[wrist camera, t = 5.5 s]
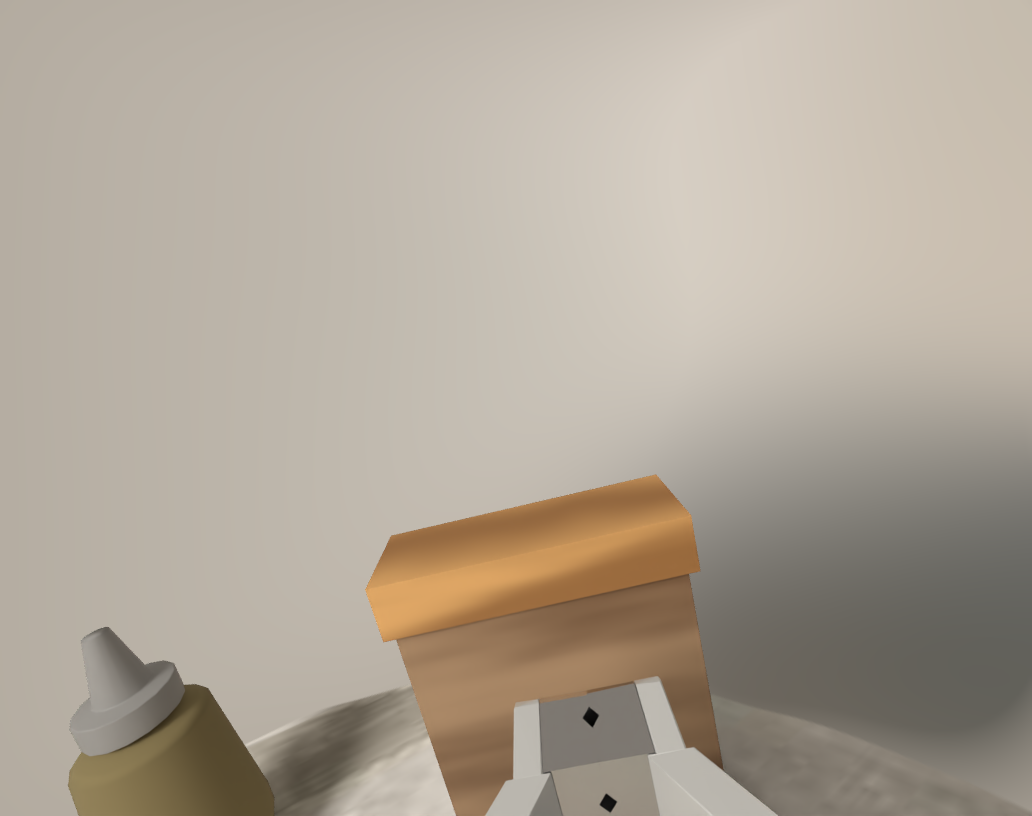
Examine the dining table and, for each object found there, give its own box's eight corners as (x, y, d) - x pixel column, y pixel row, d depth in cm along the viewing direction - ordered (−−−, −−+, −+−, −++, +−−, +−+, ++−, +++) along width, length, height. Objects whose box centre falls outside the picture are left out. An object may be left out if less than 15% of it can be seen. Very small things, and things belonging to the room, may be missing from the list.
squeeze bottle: (265, 952, 25) (124, 667, 21) (106, 1007, 25) (-71, 723, 21) (309, 800, 33) (212, 571, 29) (189, 839, 32) (73, 610, 29)
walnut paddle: (771, 976, 19) (693, 518, 15) (515, 1026, 20) (363, 593, 15) (726, 863, 23) (654, 472, 19) (513, 907, 24) (392, 533, 19)
